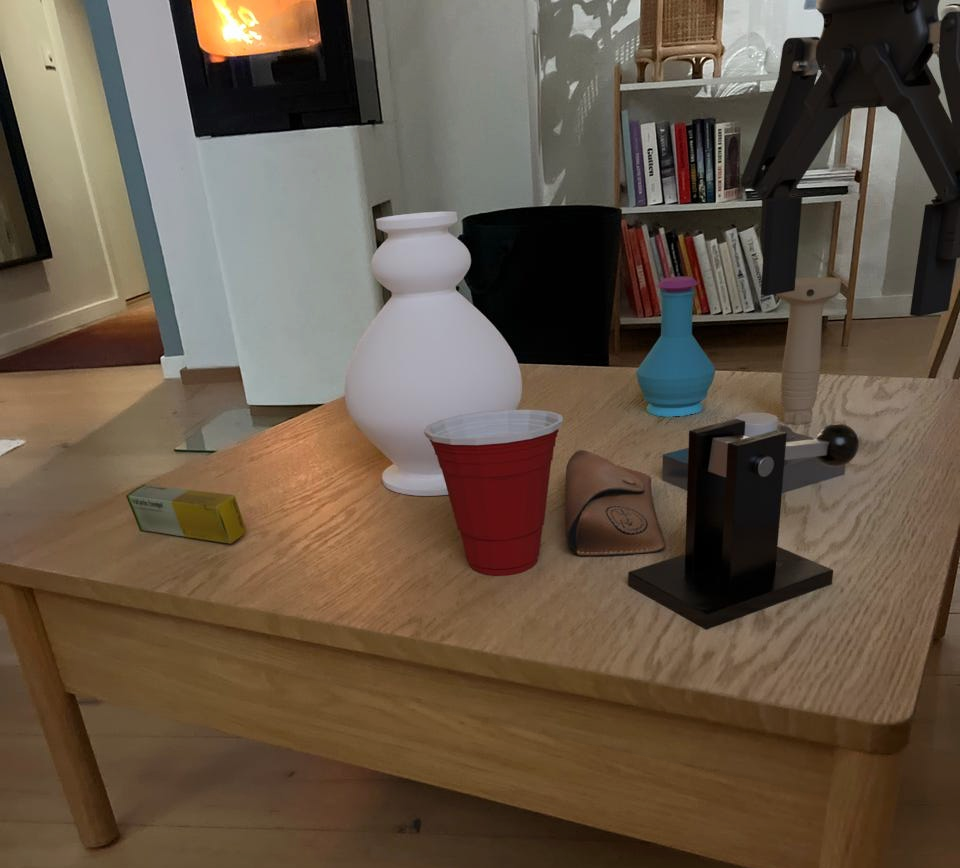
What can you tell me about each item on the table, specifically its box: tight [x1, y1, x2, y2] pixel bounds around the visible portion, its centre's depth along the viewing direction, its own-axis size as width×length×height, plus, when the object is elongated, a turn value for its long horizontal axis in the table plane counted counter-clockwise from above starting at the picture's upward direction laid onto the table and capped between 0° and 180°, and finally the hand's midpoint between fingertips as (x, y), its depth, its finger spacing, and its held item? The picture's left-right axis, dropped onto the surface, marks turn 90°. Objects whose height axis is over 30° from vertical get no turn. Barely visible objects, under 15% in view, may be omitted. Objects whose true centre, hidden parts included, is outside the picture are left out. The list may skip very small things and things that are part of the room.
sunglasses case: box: [564, 449, 666, 558], centre depth 84 cm, size 18×7×7 cm, turn 176°
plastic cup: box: [424, 409, 564, 577], centre depth 75 cm, size 11×11×12 cm
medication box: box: [125, 483, 248, 545], centre depth 88 cm, size 12×3×4 cm, turn 61°
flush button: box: [733, 412, 779, 437], centre depth 88 cm, size 4×4×2 cm
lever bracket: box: [627, 418, 834, 630], centre depth 68 cm, size 12×9×12 cm
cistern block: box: [661, 423, 847, 494], centre depth 90 cm, size 14×10×4 cm
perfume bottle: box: [636, 275, 716, 418], centre depth 110 cm, size 9×9×15 cm
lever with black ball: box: [708, 423, 860, 478], centre depth 68 cm, size 13×3×3 cm, turn 119°
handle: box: [776, 276, 842, 426], centre depth 102 cm, size 5×6×15 cm
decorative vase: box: [343, 211, 523, 497], centre depth 92 cm, size 18×18×25 cm
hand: (847, 302), depth 66 cm, fingers open, 13 cm apart
